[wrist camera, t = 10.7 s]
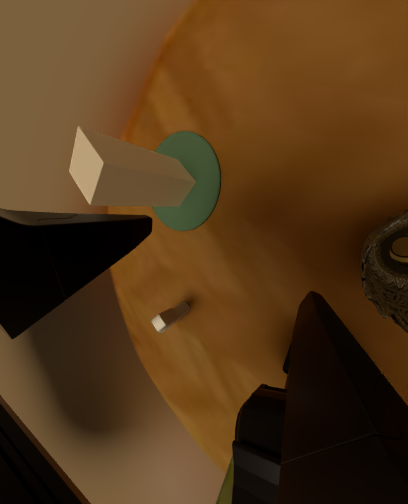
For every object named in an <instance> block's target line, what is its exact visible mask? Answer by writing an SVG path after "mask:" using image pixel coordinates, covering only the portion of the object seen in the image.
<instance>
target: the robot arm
mask: <svg viewBox="0 0 408 504" xmlns="http://www.w3.org/2000/svg"><path fill="white" fill-rule="evenodd" d="M151 232H152V218H151V217H149V216H147V215H119V214H75V213H49V212H47V213H46V212H31V211H30V212H29V211H14V210H6V209H0V328H1V329H2V330H3V331H4V332H5V333H6V334H7V335H8V336H9V337H10V338H11V339H14V338H16V337H17V336H18V335H20V334H21V333H23V332H24V331H25V330H27V329H28V328H29V327H31V326H32V325H33V324H35V323H36V322H37V321H39V320H40V319H41V318H43V317H44V316H45V315H47V314H48V313H49V312H51V311H52V310H53V309H55V308H56V307H57V306H59V305H60V304H61V303H63V302H64V301H65V300H67V299H68V298H69V297H71V296H72V295H73V294H74V293H76V292H77V291H78V290H80V289H81V288H83V287H84V286H85V285H87V284H88V283H89V282H90V281H92V280H93V279H95V278H96V277H97V276H99V275H100V274H101V273H102V272H104V271H105V270H107V269H108V268H109V267H111V266H112V265H113V264H115V263H116V262H117V261H119V260H120V259H121V258H123V257H124V256H125V255H127V254H128V253H130V252H131V251H132V250H133V249H135V248H136V247H137V246H138V245H139V244H140V243H141V242H142V241H143V240H144V239H146V238H147V237H148V236H149V235H150V234H151ZM286 368H287V369H288V370H287V369H286ZM283 371H284V372H285V373H286V374H288V375H287V380H286V385H285V389H282V388H276V387H270V386H268V385H266V384H261V385H260V386H259V387H258V389H257V390H255V391H254V392H253V393H252V395H251V396H250V397H249V399H248V400H247V401H246V402H245V403H244V404H243V405H242V407H241V408H240V411H239V413H238V416H237V421H236V427H235V440H234V441H233V443H232V449H233V462H234V474H233V492H232V502H231V504H408V406H407V404H406V403H405V402H404V401H403V399H402V398H401V397H400V396H399V394H398V393H397V392H396V390H395V389H394V388H393V387H392V385H391V384H390V383H389V382H388V380H387V379H386V378H385V376H384V375H383V374H381V371H380V370H379V369H378V367H377V366H376V365H375V364H374V362H373V361H372V360H371V358H370V357H369V356H368V355H367V353H366V352H365V351H364V349H363V348H362V347H361V346H360V344H359V343H358V342H357V340H356V339H355V338H354V337H353V335H352V334H351V333H350V331H349V330H348V329H347V328H346V326H345V325H344V324H343V322H342V321H341V320H340V319H339V317H338V316H337V315H336V313H335V312H334V311H333V310H332V308H331V307H330V306H329V304H328V303H327V302H326V301H325V299H324V298H323V297H322V295H320V294H318V293H316V292H314V291H310V292H309V293H308V294H307V296H306V297H305V298H304V299H303V301H302V302H301V304H300V306H299V309H298V313H297V318H296V322H295V326H294V331H293V336H292V342H291V345H290V348H289V351H288V353H287V356H286V359H285V362H284V365H283ZM0 504H91V503H90V502H89V501H88V500H87V498H85V496H84V495H83V494H82V492H81V491H80V490H79V489H78V488H77V486H76V485H75V484H74V483H73V482H72V480H71V479H70V478H69V477H68V476H67V474H66V473H65V472H64V471H63V470H62V468H61V467H60V466H59V465H58V464H57V462H56V461H55V460H54V459H53V458H52V457H51V455H50V454H49V453H48V452H47V450H46V449H45V448H44V447H43V446H42V445H41V443H40V442H39V441H38V440H37V438H36V437H35V436H34V435H33V434H32V433H31V431H30V430H29V429H28V428H27V427H26V425H25V424H24V423H23V422H22V421H21V419H20V418H19V417H18V416H17V415H16V413H15V412H14V411H13V410H12V409H11V407H10V406H9V405H8V404H7V403H6V401H5V400H4V399H3V398H2V397H1V395H0Z"/></svg>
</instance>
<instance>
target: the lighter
mask: <svg viewBox="0 0 408 504" xmlns="http://www.w3.org/2000/svg"><path fill="white" fill-rule="evenodd" d="M189 310H190V307H189V306H188V304H187V303H186V302H185V301H184V302H182V303H181V304H179V305H178V306H176V307H175V308H170V309H168V310H166V311H164V312H162V313H159V314H158V315H157V316H156V317H155V318H153V319H152V320H151V322H152V323H153V325H154V326H155V328H156V330H157V331H158V332H160V333H163V332H164V331H165V330H167V329H168V328H169V327H171V326H172V325H173V324H174V323H176V322H177V321H178V320H180V319H181V318H182V317H183V316H184V315H185V314H186V313H187V312H188V311H189Z"/></svg>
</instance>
